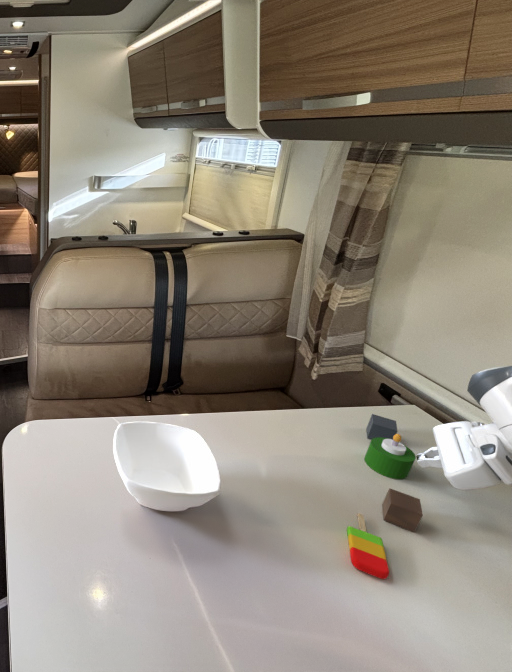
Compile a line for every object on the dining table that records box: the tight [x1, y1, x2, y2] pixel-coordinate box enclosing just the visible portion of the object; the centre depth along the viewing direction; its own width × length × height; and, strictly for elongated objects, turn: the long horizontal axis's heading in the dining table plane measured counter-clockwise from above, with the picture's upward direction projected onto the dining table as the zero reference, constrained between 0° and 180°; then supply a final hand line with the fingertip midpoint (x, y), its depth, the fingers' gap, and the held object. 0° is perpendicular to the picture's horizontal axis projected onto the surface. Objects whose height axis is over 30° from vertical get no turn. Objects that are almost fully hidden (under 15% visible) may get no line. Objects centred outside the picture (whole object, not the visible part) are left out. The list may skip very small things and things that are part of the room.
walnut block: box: [381, 488, 424, 533], centre depth 91 cm, size 5×5×5 cm
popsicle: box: [346, 512, 390, 580], centre depth 86 cm, size 6×15×2 cm, turn 148°
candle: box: [363, 433, 417, 480], centre depth 104 cm, size 8×8×10 cm
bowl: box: [112, 420, 222, 512], centre depth 97 cm, size 22×22×12 cm
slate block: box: [366, 413, 398, 441], centre depth 114 cm, size 5×5×5 cm
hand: (418, 461), depth 101 cm, fingers closed, pressing on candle
